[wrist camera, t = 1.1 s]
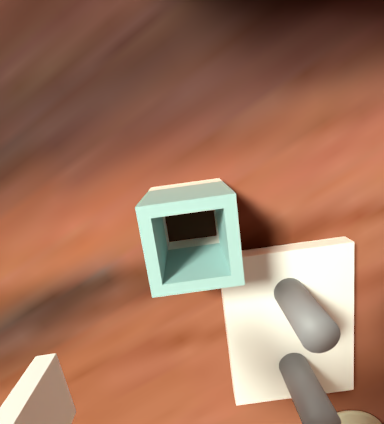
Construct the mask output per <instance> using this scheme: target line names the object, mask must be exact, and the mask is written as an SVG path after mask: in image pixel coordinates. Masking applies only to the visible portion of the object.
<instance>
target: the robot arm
mask: <svg viewBox="0 0 384 424" xmlns="http://www.w3.org/2000/svg"><path fill="white" fill-rule="evenodd" d="M75 413H76V409H75V406H74V403H73V401H72V398H71V395H70V392H69V389H68V386H67V383H66V380H65V377H64V374H63V371H62V369H61V366H60V363H59V360H58V357H57V354H56V353H54V354H48V355H42V356H36V357H35V358H34V360H33V361H32V362H31V364H30V365H29V367H28V368H27V370H26V371H25V373H24V374H23V375H22V377H21V378H20V380H19V381H18V383H17V384H16V386H15V387H14V388H13V390H12V391H11V393H10V394H9V396H8V397H7V398H6V400H5V401H4V403H3V404H2V406H1V407H0V424H71V423H72V421H73V418H74V416H75Z"/></svg>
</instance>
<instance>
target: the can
mask: <svg viewBox="0 0 384 424" xmlns="http://www.w3.org/2000/svg"><path fill="white" fill-rule="evenodd" d="M337 414H338V415H339V417H340V419H341V424H382V423H381V422H380V421H379V420H378V419H377V418H376V417H374V416H373V415H371V414H369V413H366V412H363V411H357V410H347V411H340V412H337Z"/></svg>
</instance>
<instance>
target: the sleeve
mask: <svg viewBox="0 0 384 424" xmlns="http://www.w3.org/2000/svg"><path fill="white" fill-rule="evenodd" d="M135 210H136V215H137V220H138V226H139V231H140V236H141V241H142V247H143V252H144V257H145V263H146V268H147V273H148V278H149V284H150V289H151V294H152V298H154V297H161V296H168V295H176V294H183V293H190V292H198V291H205V290H212V289H220V288H227V287H234V286H242V285H245V281H244V271H243V260H242V250H241V240H240V230H239V220H238V210H237V200H236V193H235V192H234V191H233V190H232V189H231V188H229V187H228V186H227V185H226V184H225V183H224V182H223V181H222V180H221V179H220V178H216V179H209V180H202V181H194V182H187V183H180V184H173V185H166V186H158V187H151V188H150V189H149V191H148V192H147V193H146V194H145V196H144V197H143V198H142V199H141V201H140V202H139V203H138V204H137V205H136V207H135ZM208 210H214V217H215V225H216V233H217V236H209V237H202V238H195V239H187V240H180V241H173V242H169V237H168V231H167V225H166V219H165V216H172V215H179V214H186V213H193V212H201V211H208Z"/></svg>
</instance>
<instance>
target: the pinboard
mask: <svg viewBox="0 0 384 424" xmlns="http://www.w3.org/2000/svg"><path fill="white" fill-rule="evenodd" d="M242 260H243V271H244V281H245V285H242V286H234V287H227V288H221V292H222V300H223V309H224V317H225V325H226V333H227V341H228V350H229V358H230V366H231V374H232V382H233V391H234V396H235V401H236V405H243V404H251V403H258V402H266V401H273V400H281V399H288V398H292V400H293V402H294V405H295V407H296V409H297V412H298V414H299V417H300V419H301V421H302V424H341V419H340V417H339V415H338V414H337V412H336V410H335V408H334V407H333V405H332V403H331V401H330V400H329V398H328V396H327V394H326V393H333V392H340V391H348V390H354V241H352V240H350V239H348V238H347V237H345V236H344V237H337V238H329V239H322V240H315V241H308V242H300V243H293V244H286V245H279V246H271V247H264V248H257V249H249V250H242Z"/></svg>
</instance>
